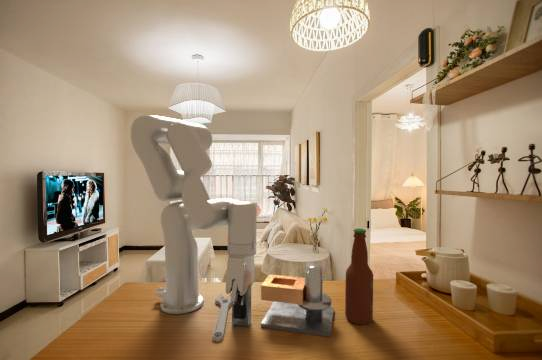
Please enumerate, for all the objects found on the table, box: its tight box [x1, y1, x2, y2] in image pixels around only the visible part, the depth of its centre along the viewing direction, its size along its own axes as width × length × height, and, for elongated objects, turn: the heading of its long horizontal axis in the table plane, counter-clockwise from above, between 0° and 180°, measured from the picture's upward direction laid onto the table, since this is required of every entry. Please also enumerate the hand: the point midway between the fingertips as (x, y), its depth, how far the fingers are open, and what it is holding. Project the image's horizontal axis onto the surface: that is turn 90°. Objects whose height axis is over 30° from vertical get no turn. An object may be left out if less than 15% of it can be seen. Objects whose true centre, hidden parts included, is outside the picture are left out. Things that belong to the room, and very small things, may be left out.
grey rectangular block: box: [231, 283, 252, 328], centre depth 79 cm, size 4×2×11 cm, turn 75°
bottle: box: [344, 228, 374, 326], centre depth 82 cm, size 7×7×25 cm
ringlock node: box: [260, 263, 335, 338], centre depth 82 cm, size 19×14×15 cm
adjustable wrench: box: [212, 291, 232, 342], centre depth 84 cm, size 25×6×2 cm, turn 178°
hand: (241, 314), depth 80 cm, fingers closed on grey rectangular block, 2 cm apart
